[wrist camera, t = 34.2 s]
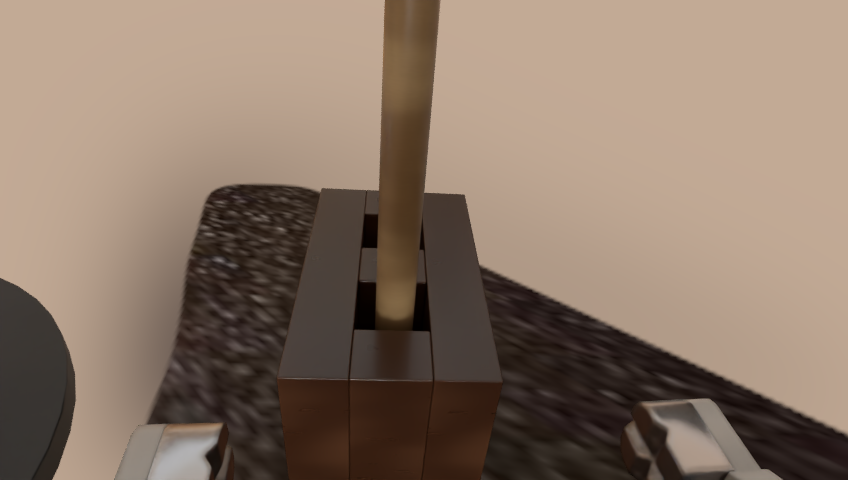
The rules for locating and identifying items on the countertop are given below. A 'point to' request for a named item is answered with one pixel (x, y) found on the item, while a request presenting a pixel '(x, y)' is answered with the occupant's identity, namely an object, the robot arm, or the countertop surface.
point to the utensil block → (388, 353)
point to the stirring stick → (403, 154)
